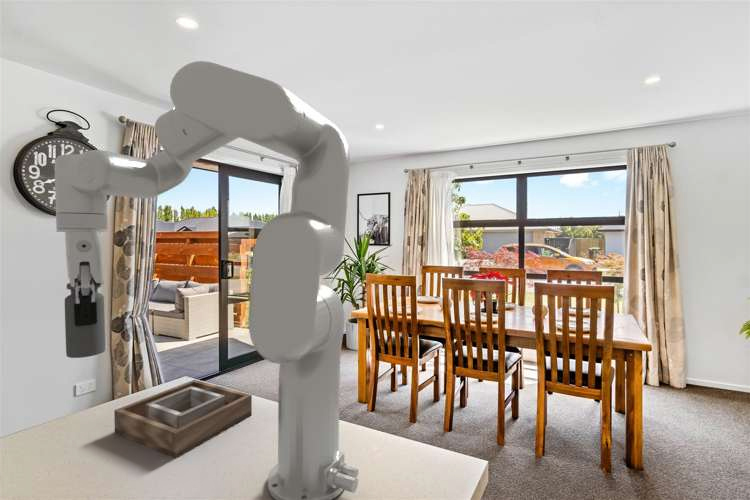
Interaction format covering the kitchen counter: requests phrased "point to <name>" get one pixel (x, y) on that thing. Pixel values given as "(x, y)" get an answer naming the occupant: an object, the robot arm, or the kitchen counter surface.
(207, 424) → the walled box
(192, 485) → the kitchen counter surface
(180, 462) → the kitchen counter surface
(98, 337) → the bottle
